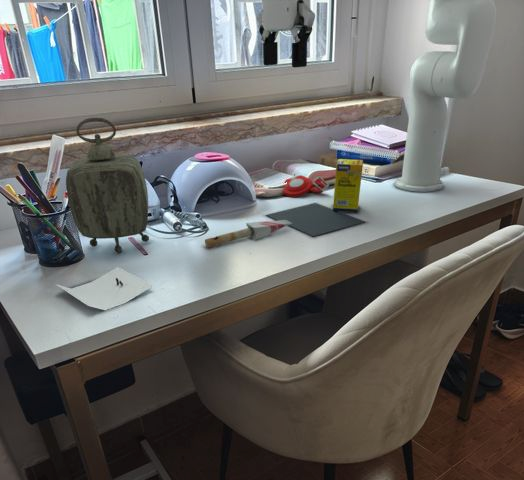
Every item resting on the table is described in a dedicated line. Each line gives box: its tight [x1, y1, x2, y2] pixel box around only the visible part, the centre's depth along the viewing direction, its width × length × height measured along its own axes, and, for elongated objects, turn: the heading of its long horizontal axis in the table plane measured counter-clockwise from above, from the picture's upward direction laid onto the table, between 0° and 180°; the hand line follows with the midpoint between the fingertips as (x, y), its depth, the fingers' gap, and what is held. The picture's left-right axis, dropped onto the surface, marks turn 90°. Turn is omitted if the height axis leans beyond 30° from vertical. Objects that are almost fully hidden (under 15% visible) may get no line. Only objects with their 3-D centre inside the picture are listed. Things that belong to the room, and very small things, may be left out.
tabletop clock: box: [65, 117, 150, 254], centre depth 96 cm, size 14×9×25 cm, turn 100°
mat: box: [265, 202, 366, 238], centre depth 116 cm, size 15×18×1 cm
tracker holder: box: [281, 174, 330, 198], centre depth 133 cm, size 12×4×10 cm
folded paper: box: [55, 266, 154, 311], centre depth 86 cm, size 12×12×2 cm
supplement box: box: [332, 158, 364, 213], centre depth 118 cm, size 6×6×11 cm
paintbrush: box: [204, 220, 292, 249], centre depth 106 cm, size 4×3×20 cm
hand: (284, 65), depth 99 cm, fingers open, 9 cm apart
